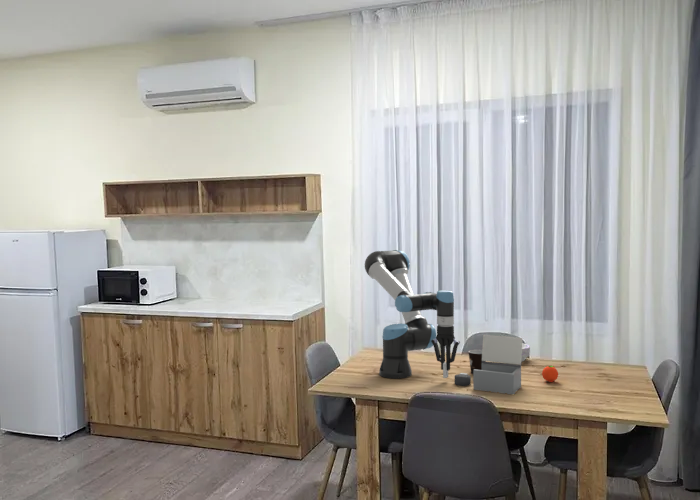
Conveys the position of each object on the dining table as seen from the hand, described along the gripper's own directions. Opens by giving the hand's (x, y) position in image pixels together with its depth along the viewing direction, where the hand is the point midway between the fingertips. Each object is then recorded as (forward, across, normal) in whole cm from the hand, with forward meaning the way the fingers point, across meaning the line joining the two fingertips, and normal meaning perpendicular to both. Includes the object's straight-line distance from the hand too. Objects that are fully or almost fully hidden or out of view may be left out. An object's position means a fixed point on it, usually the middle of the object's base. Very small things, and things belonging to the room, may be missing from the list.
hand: (445, 377), depth 279 cm
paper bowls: (+2, +18, +54) cm, 57 cm away
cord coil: (+2, +8, 0) cm, 8 cm away
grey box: (+2, +23, 0) cm, 23 cm away
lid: (-13, +23, +7) cm, 28 cm away
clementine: (+2, +42, +21) cm, 47 cm away
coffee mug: (+2, +8, +23) cm, 25 cm away
